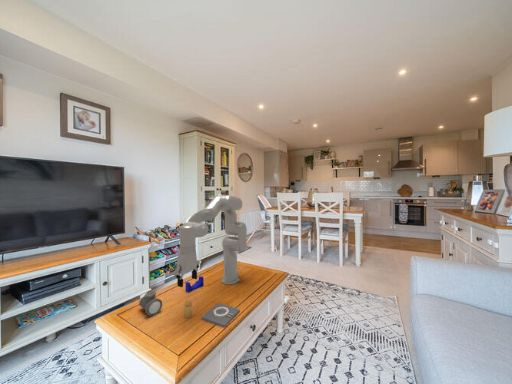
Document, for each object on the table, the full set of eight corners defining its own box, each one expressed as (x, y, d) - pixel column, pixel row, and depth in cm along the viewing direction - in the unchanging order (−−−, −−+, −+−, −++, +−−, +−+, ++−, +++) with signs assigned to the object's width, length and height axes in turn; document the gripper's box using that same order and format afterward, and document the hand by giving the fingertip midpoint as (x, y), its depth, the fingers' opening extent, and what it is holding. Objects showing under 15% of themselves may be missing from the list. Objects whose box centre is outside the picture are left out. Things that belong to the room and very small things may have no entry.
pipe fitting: (163, 311, 107) (162, 292, 107) (147, 319, 101) (147, 299, 101) (152, 304, 115) (151, 286, 114) (136, 311, 108) (136, 292, 108)
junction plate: (218, 304, 113) (218, 301, 113) (239, 311, 107) (239, 307, 107) (201, 319, 101) (201, 315, 101) (224, 327, 95) (224, 323, 95)
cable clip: (199, 284, 139) (199, 275, 139) (203, 285, 137) (203, 277, 136) (184, 291, 130) (184, 281, 130) (188, 293, 127) (188, 283, 127)
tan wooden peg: (188, 313, 106) (188, 299, 106) (193, 315, 104) (193, 300, 104) (182, 317, 103) (182, 302, 103) (188, 319, 101) (188, 304, 101)
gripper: (194, 244, 112) (194, 274, 113) (168, 253, 97) (168, 288, 97) (204, 246, 109) (204, 277, 109) (179, 255, 94) (179, 291, 94)
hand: (187, 282), depth 103 cm, fingers open, 9 cm apart
